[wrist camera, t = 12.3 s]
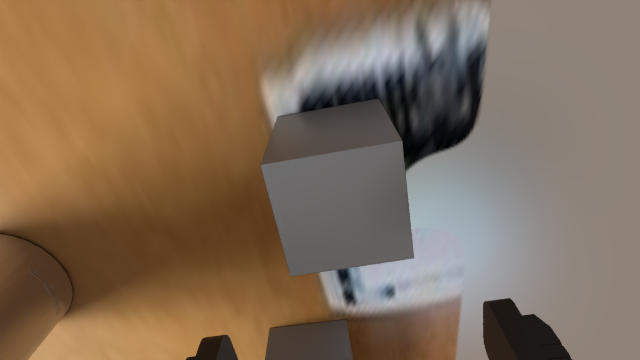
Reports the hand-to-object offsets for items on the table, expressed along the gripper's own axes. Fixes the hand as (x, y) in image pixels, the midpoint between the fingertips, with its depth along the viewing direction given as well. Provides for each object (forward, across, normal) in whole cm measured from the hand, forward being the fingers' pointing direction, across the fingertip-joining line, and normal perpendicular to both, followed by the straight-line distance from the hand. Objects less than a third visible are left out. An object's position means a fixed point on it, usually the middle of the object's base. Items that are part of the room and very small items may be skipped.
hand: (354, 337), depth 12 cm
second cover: (+16, 0, 0) cm, 16 cm away
